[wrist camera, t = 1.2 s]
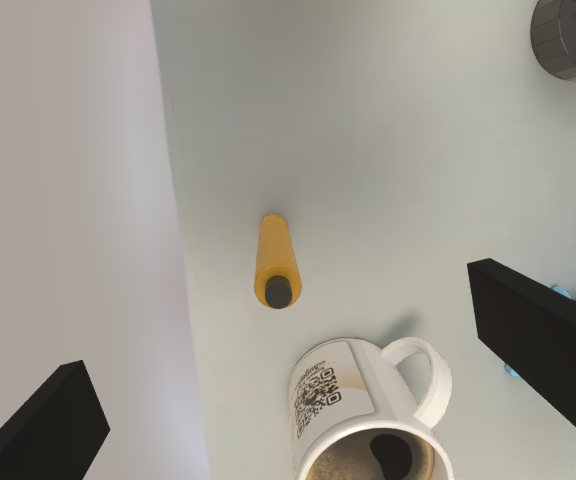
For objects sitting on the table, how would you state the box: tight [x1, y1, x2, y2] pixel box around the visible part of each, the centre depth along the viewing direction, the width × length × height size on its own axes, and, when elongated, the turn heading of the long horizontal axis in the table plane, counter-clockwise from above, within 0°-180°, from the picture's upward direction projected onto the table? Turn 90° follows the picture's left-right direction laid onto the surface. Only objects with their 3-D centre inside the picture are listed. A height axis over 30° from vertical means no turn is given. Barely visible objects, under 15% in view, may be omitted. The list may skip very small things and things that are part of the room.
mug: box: [288, 337, 454, 480], centre depth 31 cm, size 10×12×11 cm
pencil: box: [254, 214, 302, 309], centre depth 25 cm, size 2×2×15 cm
